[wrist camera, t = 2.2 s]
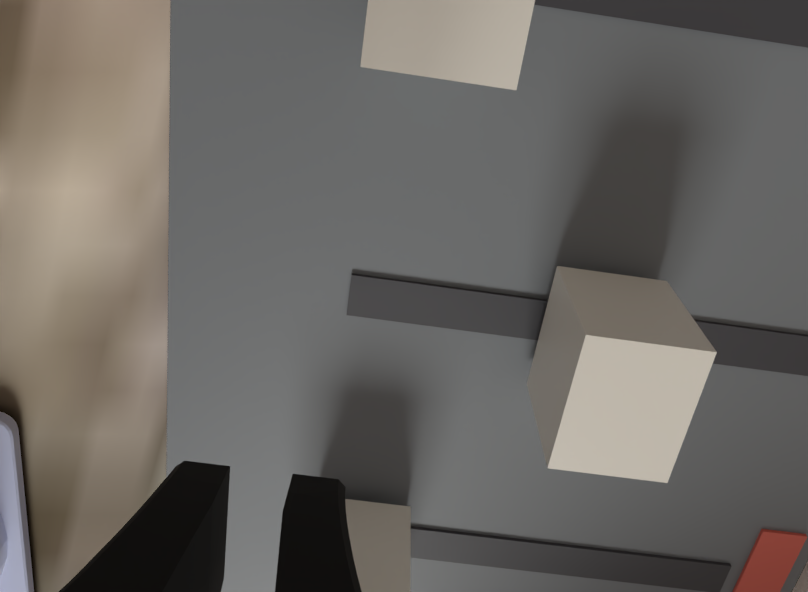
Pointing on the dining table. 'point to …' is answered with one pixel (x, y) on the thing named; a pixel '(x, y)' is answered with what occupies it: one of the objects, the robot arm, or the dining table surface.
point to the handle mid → (616, 375)
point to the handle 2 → (449, 39)
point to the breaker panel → (490, 283)
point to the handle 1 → (380, 545)
